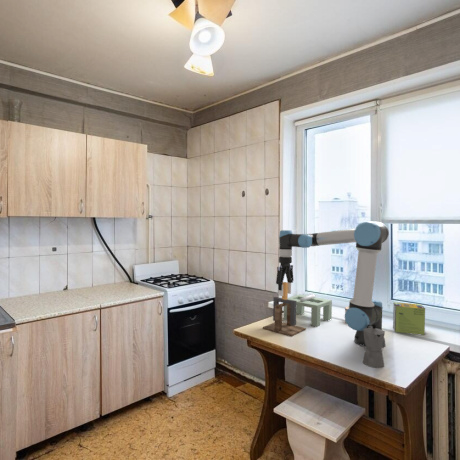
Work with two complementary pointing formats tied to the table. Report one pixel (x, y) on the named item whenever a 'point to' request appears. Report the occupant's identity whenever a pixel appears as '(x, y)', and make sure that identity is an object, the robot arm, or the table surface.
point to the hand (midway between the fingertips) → (284, 294)
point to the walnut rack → (283, 327)
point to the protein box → (409, 318)
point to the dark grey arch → (286, 300)
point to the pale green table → (312, 307)
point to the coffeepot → (373, 346)
